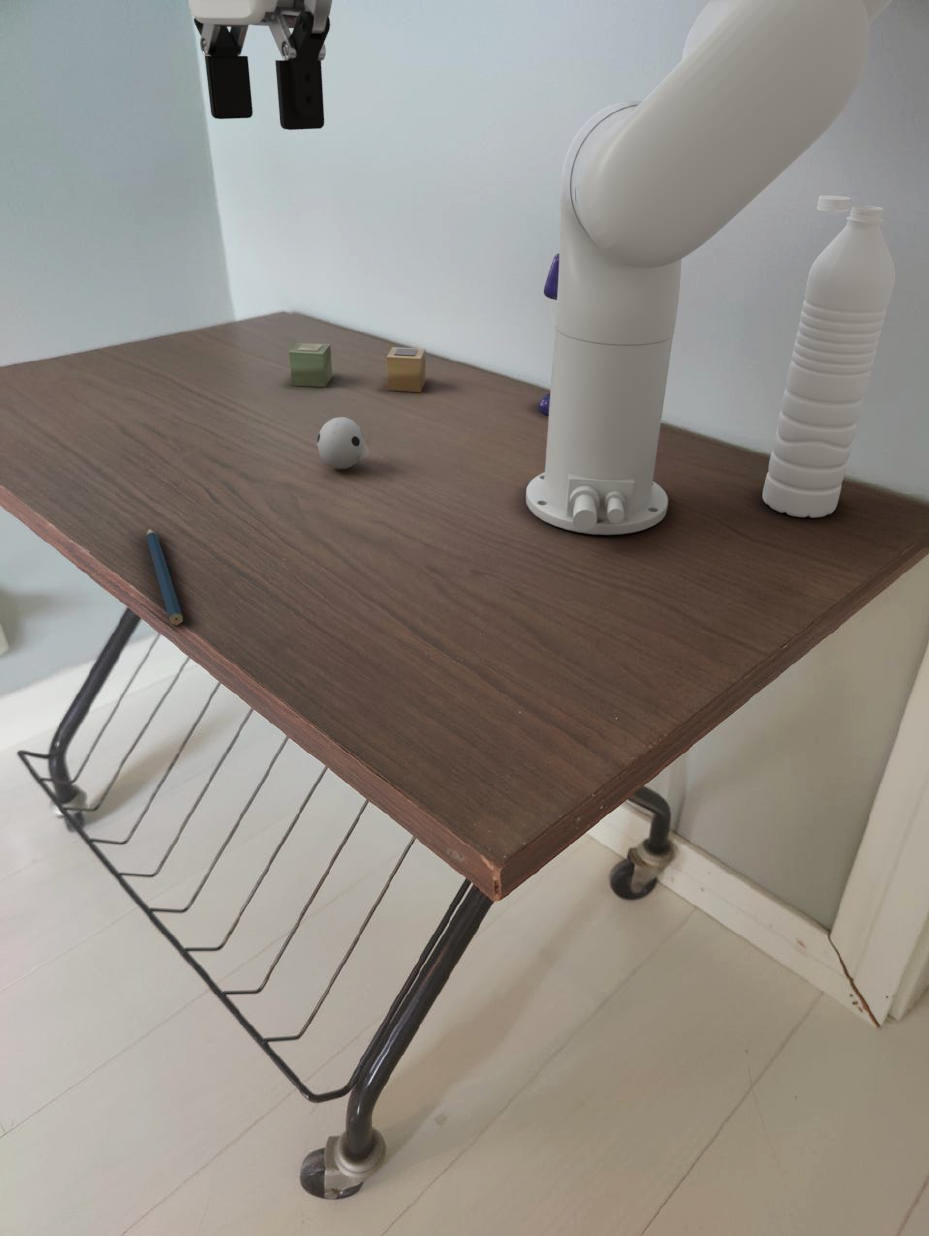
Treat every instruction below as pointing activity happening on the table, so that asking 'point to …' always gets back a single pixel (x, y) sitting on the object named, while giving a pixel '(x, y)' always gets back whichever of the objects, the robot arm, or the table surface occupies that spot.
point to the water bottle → (830, 364)
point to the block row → (316, 367)
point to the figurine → (341, 443)
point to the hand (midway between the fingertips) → (266, 123)
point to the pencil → (164, 579)
